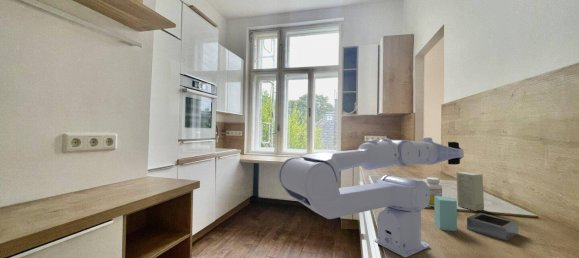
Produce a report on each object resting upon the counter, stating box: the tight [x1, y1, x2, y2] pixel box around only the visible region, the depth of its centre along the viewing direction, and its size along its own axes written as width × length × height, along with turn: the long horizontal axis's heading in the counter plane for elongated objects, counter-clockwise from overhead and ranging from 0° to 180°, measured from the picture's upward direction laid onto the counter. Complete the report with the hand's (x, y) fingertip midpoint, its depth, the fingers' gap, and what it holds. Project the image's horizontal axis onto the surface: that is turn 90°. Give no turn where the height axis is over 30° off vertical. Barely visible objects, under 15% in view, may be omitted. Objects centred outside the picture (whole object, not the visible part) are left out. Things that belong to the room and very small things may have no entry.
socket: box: [466, 212, 519, 242], centre depth 59 cm, size 8×8×3 cm
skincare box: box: [455, 171, 485, 212], centre depth 78 cm, size 6×4×12 cm
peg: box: [433, 195, 458, 232], centre depth 62 cm, size 4×4×8 cm
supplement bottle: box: [426, 176, 443, 207], centre depth 81 cm, size 5×5×10 cm
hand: (445, 153), depth 62 cm, fingers open, 7 cm apart
